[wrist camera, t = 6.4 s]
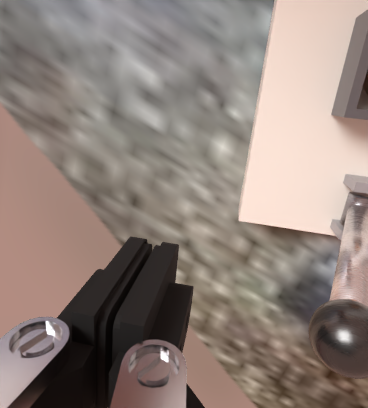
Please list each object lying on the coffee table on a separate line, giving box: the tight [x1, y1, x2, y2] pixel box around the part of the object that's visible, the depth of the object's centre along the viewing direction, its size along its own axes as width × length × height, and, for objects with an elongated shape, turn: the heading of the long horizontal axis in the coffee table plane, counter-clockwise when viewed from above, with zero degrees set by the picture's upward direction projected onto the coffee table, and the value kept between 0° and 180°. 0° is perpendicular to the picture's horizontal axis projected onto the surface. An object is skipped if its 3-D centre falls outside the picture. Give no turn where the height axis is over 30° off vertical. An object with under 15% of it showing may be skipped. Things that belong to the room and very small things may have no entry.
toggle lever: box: [309, 192, 368, 379], centre depth 13 cm, size 2×2×14 cm
